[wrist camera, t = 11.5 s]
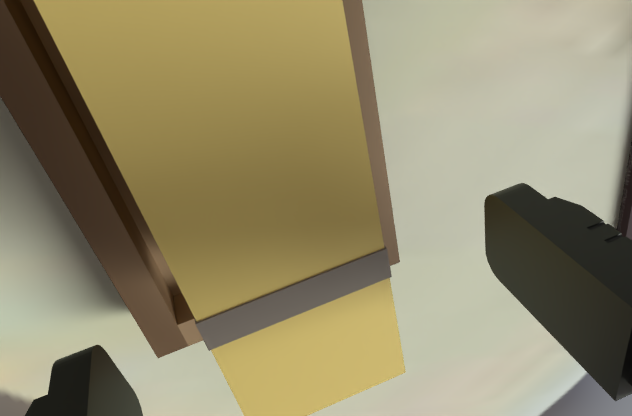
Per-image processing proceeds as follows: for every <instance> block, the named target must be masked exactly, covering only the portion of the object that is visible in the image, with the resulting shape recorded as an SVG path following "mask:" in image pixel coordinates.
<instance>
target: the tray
mask: <svg viewBox="0 0 632 416" xmlns="http://www.w3.org/2000/svg"><path fill="white" fill-rule="evenodd" d="M342 1H343V7H344V13H345V18H346V24H347V30H348V36H349V42H350V48H351V54H352V60H353V66H354V71H355V77H356V83H357V89H358V95H359V101H360V107H361V113H362V119H363V124H364V130H365V136H366V142H367V148H368V154H369V160H370V166H371V172H372V177H373V183H374V189H375V195H376V201H377V207H378V213H379V219H380V225H381V230H382V236H383V242H384V245H385V247H386V248H387V252H388V258H389V264H390V266H391V265H393V264H396V263H398V262H400V260H399V253H398V246H397V239H396V232H395V225H394V219H393V212H392V205H391V198H390V191H389V184H388V177H387V170H386V163H385V156H384V149H383V143H382V136H381V129H380V122H379V115H378V108H377V101H376V94H375V87H374V80H373V73H372V66H371V60H370V53H369V46H368V39H367V32H366V25H365V18H364V11H363V4H362V0H342ZM0 96H1V98H2V100H3V101H4V103H5V105H6V106H7V108H8V110H9V111H10V113H11V115H12V116H13V118H14V120H15V121H16V123H17V125H18V126H19V128H20V130H21V131H22V133H23V135H24V136H25V138H26V140H27V141H28V143H29V145H30V146H31V148H32V150H33V151H34V153H35V155H36V156H37V158H38V160H39V161H40V163H41V165H42V166H43V168H44V169H45V171H46V173H47V174H48V176H49V178H50V179H51V181H52V183H53V184H54V186H55V188H56V189H57V191H58V193H59V194H60V196H61V198H62V199H63V201H64V203H65V204H66V206H67V208H68V209H69V211H70V213H71V214H72V216H73V218H74V219H75V221H76V223H77V224H78V226H79V228H80V229H81V231H82V233H83V234H84V236H85V238H86V239H87V241H88V243H89V244H90V246H91V248H92V249H93V251H94V253H95V254H96V256H97V258H98V259H99V261H100V263H101V264H102V266H103V268H104V269H105V271H106V273H107V274H108V276H109V278H110V279H111V281H112V283H113V284H114V286H115V287H116V289H117V291H118V292H119V294H120V296H121V297H122V299H123V301H124V302H125V304H126V306H127V307H128V309H129V311H130V312H131V314H132V316H133V317H134V319H135V321H136V322H137V324H138V326H139V327H140V329H141V331H142V332H143V334H144V336H145V337H146V339H147V341H148V342H149V344H150V346H151V347H152V349H153V351H154V352H155V354H156V356H157V357H158V358H160V357H162V356H165V355H167V354H170V353H172V352H175V351H177V350H180V349H182V348H185V347H187V346H190V345H192V344H195V343H197V342H200V341H202V340H203V338H202V336H201V334H200V332H199V330H198V328H197V327H196V325H195V320H194V316H193V314H192V312H191V310H190V308H189V306H188V304H187V302H186V300H185V298H184V296H183V294H182V292H181V290H180V288H179V286H178V284H177V282H176V280H175V278H174V276H173V274H172V272H171V270H170V268H169V266H168V264H167V262H166V260H165V258H164V256H163V254H162V252H161V251H160V249H159V247H158V245H157V243H156V241H155V239H154V237H153V235H152V233H151V231H150V229H149V227H148V225H147V223H146V221H145V219H144V217H143V215H142V213H141V211H140V209H139V207H138V205H137V203H136V201H135V199H134V197H133V195H132V193H131V191H130V189H129V187H128V185H127V183H126V182H125V180H124V178H123V176H122V174H121V172H120V170H119V168H118V166H117V164H116V162H115V160H114V158H113V156H112V154H111V152H110V150H109V148H108V146H107V144H106V142H105V140H104V138H103V136H102V134H101V132H100V130H99V128H98V126H97V124H96V122H95V120H94V118H93V116H92V114H91V113H90V111H89V109H88V107H87V105H86V103H85V101H84V99H83V97H82V95H81V93H80V91H79V89H78V87H77V85H76V83H75V81H74V79H73V77H72V75H71V73H70V71H69V69H68V67H67V65H66V63H65V61H64V59H63V57H62V55H61V53H60V51H59V49H58V47H57V45H56V44H55V42H54V40H53V38H52V36H51V34H50V32H49V30H48V28H47V26H46V24H45V22H44V20H43V18H42V16H41V14H40V12H39V10H38V8H37V6H36V4H35V2H34V0H0Z"/></svg>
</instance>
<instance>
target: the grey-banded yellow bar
mask: <svg viewBox="0 0 632 416" xmlns="http://www.w3.org/2000/svg"><path fill="white" fill-rule="evenodd" d="M34 2H35V4H36V6H37V8H38V10H39V12H40V14H41V16H42V18H43V20H44V22H45V24H46V26H47V28H48V30H49V32H50V34H51V36H52V38H53V40H54V42H55V44H56V45H57V47H58V49H59V51H60V53H61V55H62V57H63V59H64V61H65V63H66V65H67V67H68V69H69V71H70V73H71V75H72V77H73V79H74V81H75V83H76V85H77V87H78V89H79V91H80V93H81V95H82V97H83V99H84V101H85V103H86V105H87V107H88V109H89V111H90V113H91V114H92V116H93V118H94V120H95V122H96V124H97V126H98V128H99V130H100V132H101V134H102V136H103V138H104V140H105V142H106V144H107V146H108V148H109V150H110V152H111V154H112V156H113V158H114V160H115V162H116V164H117V166H118V168H119V170H120V172H121V174H122V176H123V178H124V180H125V182H126V183H127V185H128V187H129V189H130V191H131V193H132V195H133V197H134V199H135V201H136V203H137V205H138V207H139V209H140V211H141V213H142V215H143V217H144V219H145V221H146V223H147V225H148V227H149V229H150V231H151V233H152V235H153V237H154V239H155V241H156V243H157V245H158V247H159V249H160V251H161V252H162V254H163V256H164V258H165V260H166V262H167V264H168V266H169V268H170V270H171V272H172V274H173V276H174V278H175V280H176V282H177V284H178V286H179V288H180V290H181V292H182V294H183V296H184V298H185V300H186V302H187V304H188V306H189V308H190V310H191V312H192V314H193V316H194V320H195V325H196V327H197V328H198V330H199V332H200V334H201V336H202V338H203V340H204V342H205V344H206V346H207V348H208V350H209V351H210V350H211V351H212V353H213V355H214V357H215V359H216V361H217V363H218V365H219V367H220V369H221V371H222V373H223V375H224V377H225V379H226V381H227V383H228V385H229V387H230V389H231V390H232V392H233V394H234V396H235V398H236V400H237V402H238V404H239V406H240V408H241V410H242V412H243V414H244V416H307V415H310V414H312V413H314V412H316V411H319V410H321V409H323V408H325V407H328V406H330V405H332V404H335V403H337V402H339V401H341V400H344V399H346V398H348V397H351V396H353V395H355V394H357V393H360V392H362V391H364V390H367V389H369V388H371V387H373V386H376V385H378V384H380V383H382V382H385V381H387V380H389V379H392V378H394V377H396V376H398V375H401V374H403V373H405V366H404V360H403V354H402V348H401V342H400V336H399V331H398V325H397V319H396V313H395V307H394V301H393V295H392V289H391V283H390V277H392V276H391V270H390V264H389V258H388V252H387V248H386V247H385V245H384V242H383V236H382V230H381V225H380V219H379V213H378V207H377V201H376V195H375V189H374V183H373V177H372V172H371V166H370V160H369V154H368V148H367V142H366V136H365V130H364V124H363V119H362V113H361V107H360V101H359V95H358V89H357V83H356V77H355V71H354V66H353V60H352V54H351V48H350V42H349V36H348V30H347V24H346V18H345V13H344V7H343V1H342V0H34Z"/></svg>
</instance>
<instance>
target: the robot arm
mask: <svg viewBox="0 0 632 416" xmlns="http://www.w3.org/2000/svg"><path fill="white" fill-rule="evenodd" d="M484 208H485V247H486V256H487V260H488V263H489V265H490V267H491V269H492V271H493V273H494V274H495V276H496V277H497V278H498V280H499V281H500V282H501V283H502V284H503V285H504V286H505V287H506V288H507V289H508V290H509V291H510V292H511V293H512V294H513V295H514V296H515V297H516V298H517V299H518V300H519V301H520V303H521V304H522V305H523V306H524V307H525V308H526V309H527V310H528V311H529V312H530V313H531V314H532V315H533V316H534V317H535V318H536V319H537V320H538V321H539V322H540V323H541V324H542V325H543V326H544V328H545V329H546V330H547V331H548V332H549V333H550V334H551V335H552V336H553V337H554V338H555V339H556V340H557V341H558V342H559V343H560V344H561V345H562V346H563V347H564V348H565V349H566V350H567V351H568V353H569V354H570V355H571V356H572V357H573V358H574V359H575V360H576V361H577V362H578V363H579V364H580V365H581V366H582V367H583V368H584V369H585V370H586V371H587V372H588V373H589V374H590V375H591V376H592V377H593V379H595V380H596V382H597V383H598V384H599V385H600V386H601V387H602V388H603V389H604V390H605V391H606V392H607V393H608V394H609V395H610V396H611V397H612V398H613V399H614V400H615V401H617V400H619V399H621V398H623V397H626V396H628V395H630V394H632V240H631V239H629V238H628V237H626V236H625V237H623V236H622V234H621V232H619V231H618V230H616V229H615V228H613V227H612V226H611V225H609V224H605V223H604V221H603V220H602V219H600V218H599V217H597V216H596V215H595V214H593V213H592V212H590V211H589V210H587V209H586V208H584V207H583V206H581V205H578V204H575V203H572V202H569V201H566V200H563V199H560V198H557V197H553V198H551V199H547V198H545V197H544V196H543V195H541V194H540V193H539V192H537V191H536V190H534V189H533V188H532V187H530V186H529V185H527V184H524V183H520V184H517V185H514V186H512V187H509V188H507V189H504V190H502V191H499V192H496V193H494V194H491V195H489V196H487V197H486V199H485V205H484ZM25 416H143V414H142V410H141V406H140V403H139V400H138V398H137V396H136V394H135V392H134V390H133V389H132V388H131V386H130V385H129V383H128V382H127V381H126V379H125V378H124V376H123V375H122V374H121V372H120V371H119V369H118V368H117V367H116V365H115V364H114V362H113V361H112V359H111V358H110V357H109V355H108V354H107V352H106V351H105V350H104V349H103V348H102V347H101V346H100V345H95V346H92V347H90V348H87V349H85V350H82V351H79V352H77V353H74V354H72V355H69V356H66V357H64V358H61V359H59V360H57V361H55V363H54V364H53V367H52V372H51V378H50V384H49V391H48V395H45V396H43V397H40V398H38V399H35V400H33V402H32V404H31V406H30V407H29V409H28V411H27V413H26V415H25Z"/></svg>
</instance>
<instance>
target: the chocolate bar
mask: <svg viewBox="0 0 632 416" xmlns="http://www.w3.org/2000/svg"><path fill="white" fill-rule="evenodd" d="M617 230H618V231H619V232H621V234H622V236H623V237H625V236H626V237H628V238H629V239H631V240H632V142H631V148H630V154H629V160H628V166H627V172H626V178H625V184H624V190H623V196H622V202H621V208H620V214H619V220H618V227H617Z"/></svg>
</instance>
